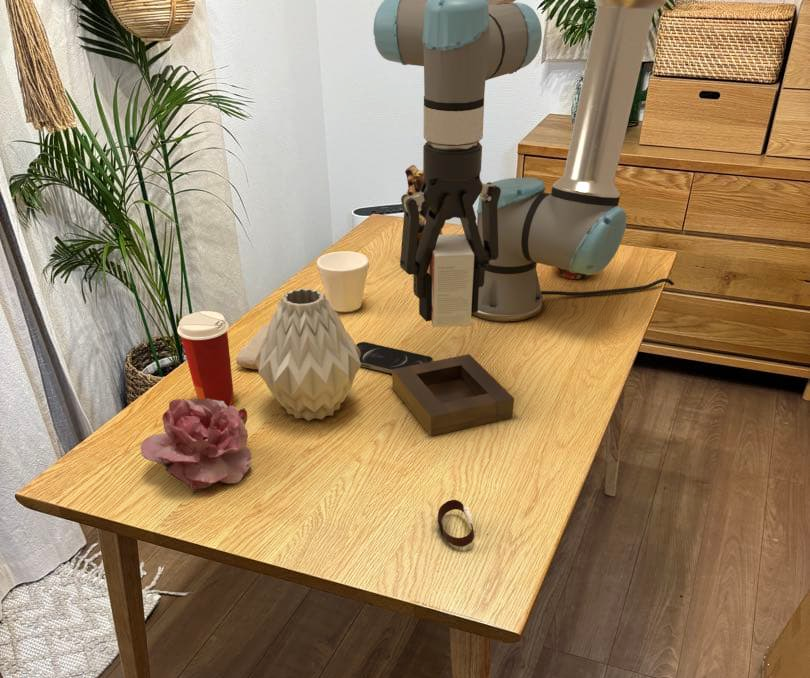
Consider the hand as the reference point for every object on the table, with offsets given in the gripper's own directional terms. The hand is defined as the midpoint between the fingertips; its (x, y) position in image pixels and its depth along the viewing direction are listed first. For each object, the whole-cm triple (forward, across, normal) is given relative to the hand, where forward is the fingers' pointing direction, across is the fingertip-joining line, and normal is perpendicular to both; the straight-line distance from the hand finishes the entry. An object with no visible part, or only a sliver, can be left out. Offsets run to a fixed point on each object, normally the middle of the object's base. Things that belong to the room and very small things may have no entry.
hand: (448, 312), depth 115 cm
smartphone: (+16, +3, -18) cm, 25 cm away
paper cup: (+16, +33, -17) cm, 41 cm away
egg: (+17, -48, -40) cm, 65 cm away
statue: (+17, -22, -58) cm, 64 cm away
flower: (+16, +39, +1) cm, 42 cm away
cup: (+17, +2, -43) cm, 46 cm away
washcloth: (+16, +18, -29) cm, 38 cm away
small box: (+1, 0, 0) cm, 1 cm away
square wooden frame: (+16, -2, -2) cm, 16 cm away
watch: (+16, +12, +28) cm, 35 cm away
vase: (+16, +19, -9) cm, 27 cm away
